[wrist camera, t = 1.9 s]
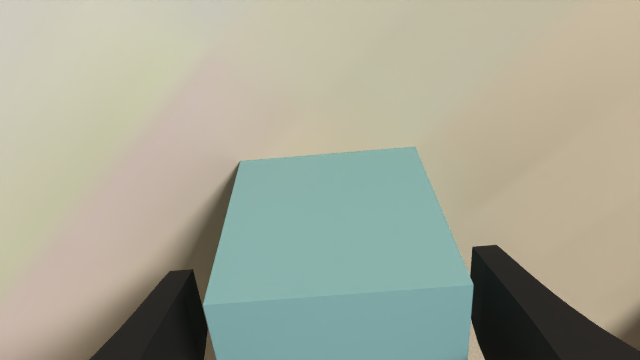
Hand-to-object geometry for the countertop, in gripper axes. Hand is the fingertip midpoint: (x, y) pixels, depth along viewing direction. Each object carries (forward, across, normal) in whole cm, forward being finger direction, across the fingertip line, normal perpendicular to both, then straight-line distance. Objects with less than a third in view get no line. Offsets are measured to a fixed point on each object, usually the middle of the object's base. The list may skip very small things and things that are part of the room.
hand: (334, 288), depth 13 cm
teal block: (+3, 0, 0) cm, 3 cm away
